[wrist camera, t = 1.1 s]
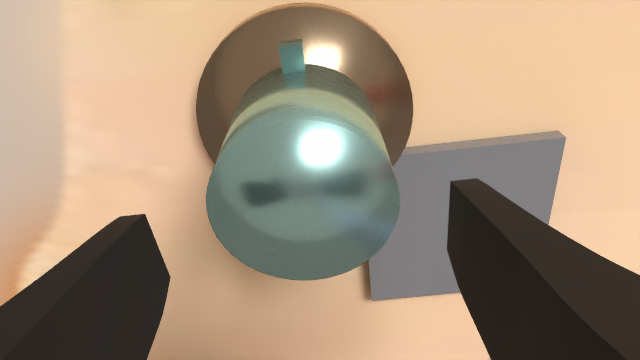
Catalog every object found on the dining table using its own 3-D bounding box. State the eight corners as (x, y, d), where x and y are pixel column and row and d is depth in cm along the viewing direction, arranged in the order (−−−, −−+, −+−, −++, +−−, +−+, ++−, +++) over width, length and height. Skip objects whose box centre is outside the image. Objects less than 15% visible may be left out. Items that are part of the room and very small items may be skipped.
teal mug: (380, 205, 17) (401, 291, 13) (252, 218, 17) (235, 307, 13) (372, 28, 13) (397, 74, 9) (211, 48, 13) (173, 100, 10)
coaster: (530, 276, 22) (536, 285, 21) (370, 291, 22) (371, 301, 21) (558, 130, 17) (566, 137, 17) (360, 152, 18) (361, 159, 17)
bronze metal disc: (409, 188, 19) (419, 215, 17) (226, 207, 19) (218, 236, 17) (407, -11, 15) (421, -2, 13) (174, 17, 15) (157, 31, 13)
